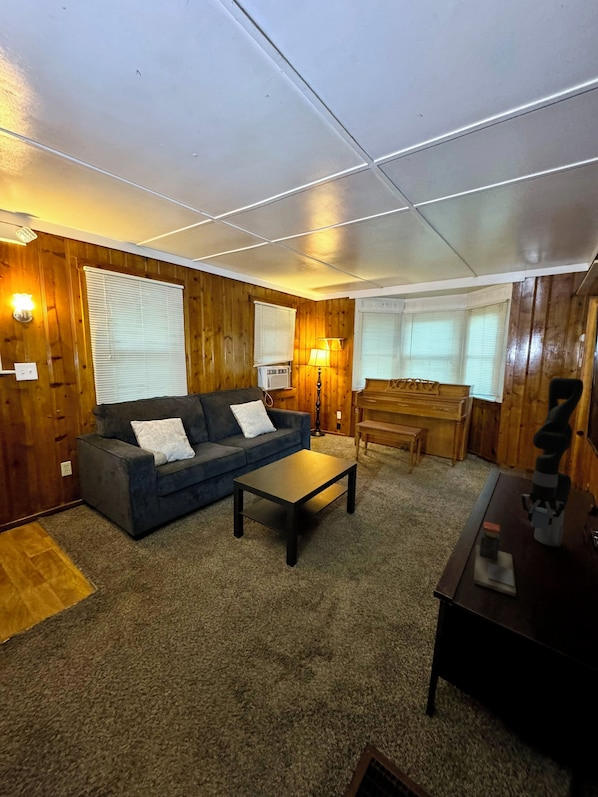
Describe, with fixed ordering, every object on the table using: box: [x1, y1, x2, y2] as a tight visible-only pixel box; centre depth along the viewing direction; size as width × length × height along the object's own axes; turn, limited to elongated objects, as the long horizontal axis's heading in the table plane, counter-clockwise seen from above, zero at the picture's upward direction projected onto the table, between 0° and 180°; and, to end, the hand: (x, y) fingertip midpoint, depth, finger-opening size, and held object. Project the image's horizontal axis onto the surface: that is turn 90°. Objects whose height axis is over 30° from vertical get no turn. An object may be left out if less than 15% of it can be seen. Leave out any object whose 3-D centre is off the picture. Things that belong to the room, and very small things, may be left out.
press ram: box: [482, 521, 501, 540], centre depth 133 cm, size 6×6×7 cm
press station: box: [473, 529, 517, 598], centre depth 126 cm, size 13×25×10 cm, turn 150°
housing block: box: [530, 507, 550, 530], centre depth 126 cm, size 5×6×6 cm
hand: (538, 522), depth 126 cm, fingers closed on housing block, 5 cm apart
